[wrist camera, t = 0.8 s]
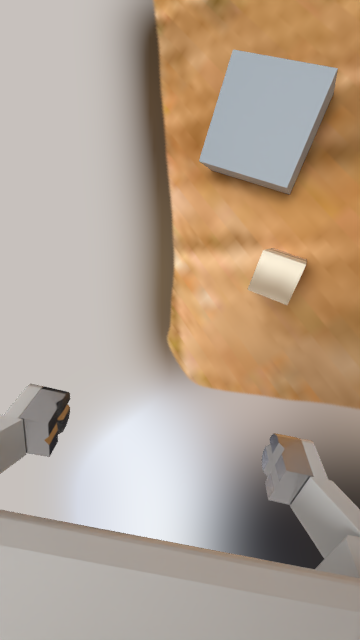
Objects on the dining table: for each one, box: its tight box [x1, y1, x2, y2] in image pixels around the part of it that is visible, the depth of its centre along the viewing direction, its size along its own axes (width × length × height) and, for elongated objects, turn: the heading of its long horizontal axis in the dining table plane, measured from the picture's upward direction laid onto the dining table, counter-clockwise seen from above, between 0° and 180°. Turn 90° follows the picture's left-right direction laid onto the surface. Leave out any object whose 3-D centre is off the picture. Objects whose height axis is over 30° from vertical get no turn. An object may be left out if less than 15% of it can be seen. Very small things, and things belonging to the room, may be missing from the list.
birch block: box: [248, 248, 307, 305], centre depth 38 cm, size 5×5×10 cm
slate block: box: [199, 50, 338, 195], centre depth 37 cm, size 12×12×6 cm
